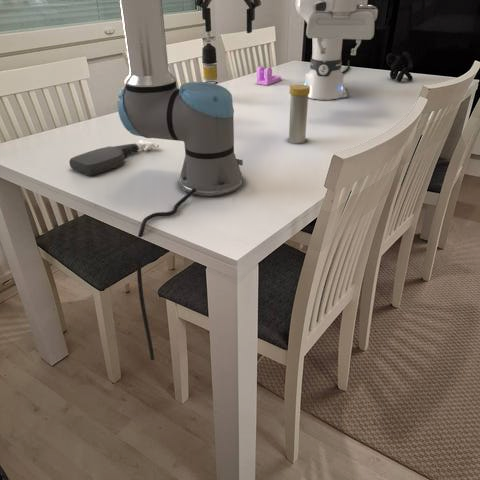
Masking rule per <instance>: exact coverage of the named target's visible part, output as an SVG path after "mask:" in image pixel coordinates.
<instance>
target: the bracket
mask: <svg viewBox="0 0 480 480" xmlns="http://www.w3.org/2000/svg"><path fill="white" fill-rule="evenodd" d="M281 80H282V76H281V75H273V69H272V67H265V68H264V66H258V67H257V68H256V85H263V86H269V85H273V84H274V83H277V82H280V81H281Z"/></svg>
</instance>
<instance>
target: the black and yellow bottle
mask: <svg viewBox="0 0 480 480" xmlns="http://www.w3.org/2000/svg"><path fill="white" fill-rule="evenodd" d="M205 33H206V39H207V40H206V42H207V43H206V45H204V46H202V49H201V50H202V51H201V52H202V54H201V55H202V57H201V58H202V61H201V63H202V71H203V72H202V73H203V74H202V75H203V80H204V81H206V82H207V83H214V84H217V85H218V84H219V82H218V81H216V80H218V64H216V63H218V61H217V48H216V47H215V46H214V45H212V43H210V42H211V40H210V39H211V31H210V32H206V31H205Z"/></svg>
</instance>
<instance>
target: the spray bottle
mask: <svg viewBox="0 0 480 480" xmlns="http://www.w3.org/2000/svg"><path fill="white" fill-rule="evenodd" d="M159 148H160V145H159V144H158V143H155V142H151V141H148V140H144V139H139V140H138V141H137V142H135V143H129V144H128V143H126V144H122V145H113V146H105V147H100V148H97V149H94V150H90V151H87V152H83V153H81V154H78V155H74V156H73V157H70V159H69V161H68V162H69V167H70V168H71V169H72V170H74V171H75V172H78V173H81V174H83V175H85V176H89V177H90V176H91V177H92V176H95V175H99V174H102V173H105V172H107V171H110V170H113V169H116V168H118V167H120V166H122V165H123V164H124V163H125V158H126V156H127V155H131V154H133V153H138V151H140V150H143V151H144V152H146V151H147V150H149V149H159Z"/></svg>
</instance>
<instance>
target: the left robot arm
mask: <svg viewBox="0 0 480 480" xmlns="http://www.w3.org/2000/svg"><path fill="white" fill-rule="evenodd" d="M212 1H213V0H196V1H195V6H197V7H200V8H201V12H202V13H201V16H202V17H201V18H202V20H203V21H204V24H205V33H206V32H210V33H211V32H212V15H211V7H209V5H210V4H211V3H212ZM243 1H244V2H245V4H246V5H247V6H248V8H246V34H251V33H252V32H253V21H255V19H256V8H258V7H260V6H261V5H262V2H261V0H243ZM119 3H120V9H121V17H122V24H123V32H124V37H125V45H126V51H127V58H128V67H129V74H128V76H127V77H126V78H125V80H124V86H123V87H122V89H121V90H120V92H119V94H118V100H117V113H118V116H119V119H120V121H121V124H122V126H123V127H124V128H125V130H126V131H128V132H129V133H130V134H131V135H133V136H137V137H141V138H144V139H159V140H166V141H167V140H169V141H179V142H183V143H184V154H185V155H184V158H183V164H182V168H181V171H180V177H179V178H180V179H179V183H180V184H179V185H180V188H181V189H182V191H184V192H186V193H187V194H185V196H183V197H182V198H181V199H179V200H178V201H177V203H175V205H174V206H173V209H172V210H169V211H161V212H153V213H151V214H149V215H147V216H146V217H144V218H143V219H142V220H141V224H140V228H139V231H138V235H137V237H138V238H142V237H143V236H144V232H145V228H146V225H147V223H148V222H149V221H150V220H151V219H154V218H156V217H169V216H173V215H175V214H176V213H177V211H178V209H179V207H180V206H181V205H182V204H183V203H185V202H186V201H187V200H188V199H189V198H190V197H191V196H192V195H194V196H199V197H221V196H224V195H229V194H232V193H234V192H235V191H237V190H239V189H240V188H241V187H242V185H243V174H242V171H241V168H240V166H241V167H242V166H243V165H244V160H243V159H239V158H237V157H236V154H235V132H234V131H235V129H234V127H235V126H234V122H235V121H234V114H235V109H234V104H233V96H232V93H231V91H230V90H228V89H227V88H226V87H224V86H222V85H219V84H218V83H217V84H215V83H214V82H207V81H199V82H198V81H189V82H185V83H183V84H181V85H180V87H179V88H177V87H178V86H177V77H176V76H175V75H174V74H173V73H171V71H170V70H169V60H168V52H167V51H168V50H167V40H166V30H165V21H164V18H165V17H164V10H163V9H164V7H163V0H119ZM136 275H137V289H138V295H139V302H140V309H141V315H142V319H143V324H144V329H145V335H146V339H147V345H148V349H149V350H148V351H149V357H150V361H154V360H155V354H154V348H153V347H154V346H153V342H152V336H151V331H150V326H149V325H150V324H149V320H148V315H147V311H146V310H147V309H146V305H145V304H146V303H145V297H144V288H143V279H142V278H143V277H142V261H141V260H136Z"/></svg>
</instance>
